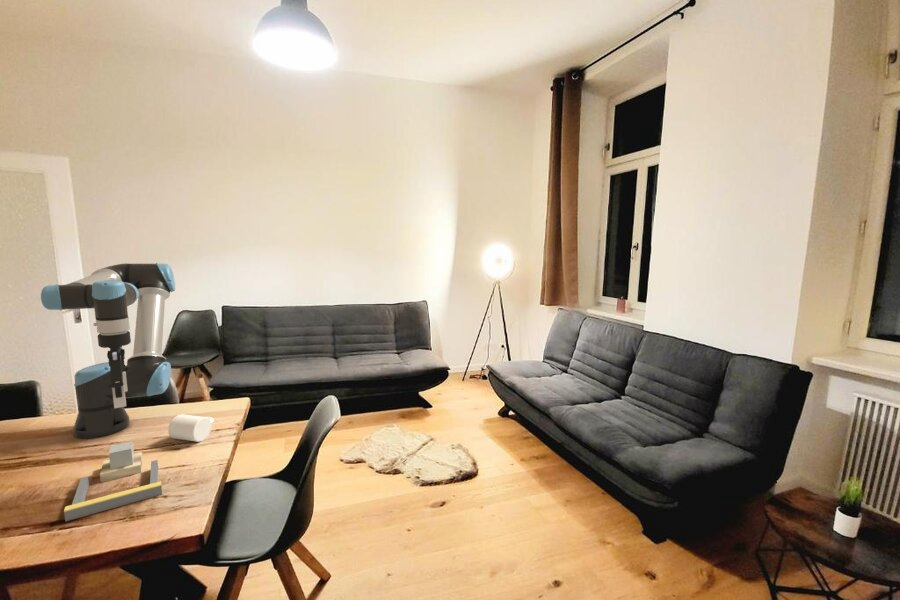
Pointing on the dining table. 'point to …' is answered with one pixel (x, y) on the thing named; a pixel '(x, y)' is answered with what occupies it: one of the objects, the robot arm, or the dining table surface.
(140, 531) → the dining table surface
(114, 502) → the dock
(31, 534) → the dining table surface
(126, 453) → the light grey cube
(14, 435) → the dining table surface
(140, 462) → the pallet
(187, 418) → the mug
